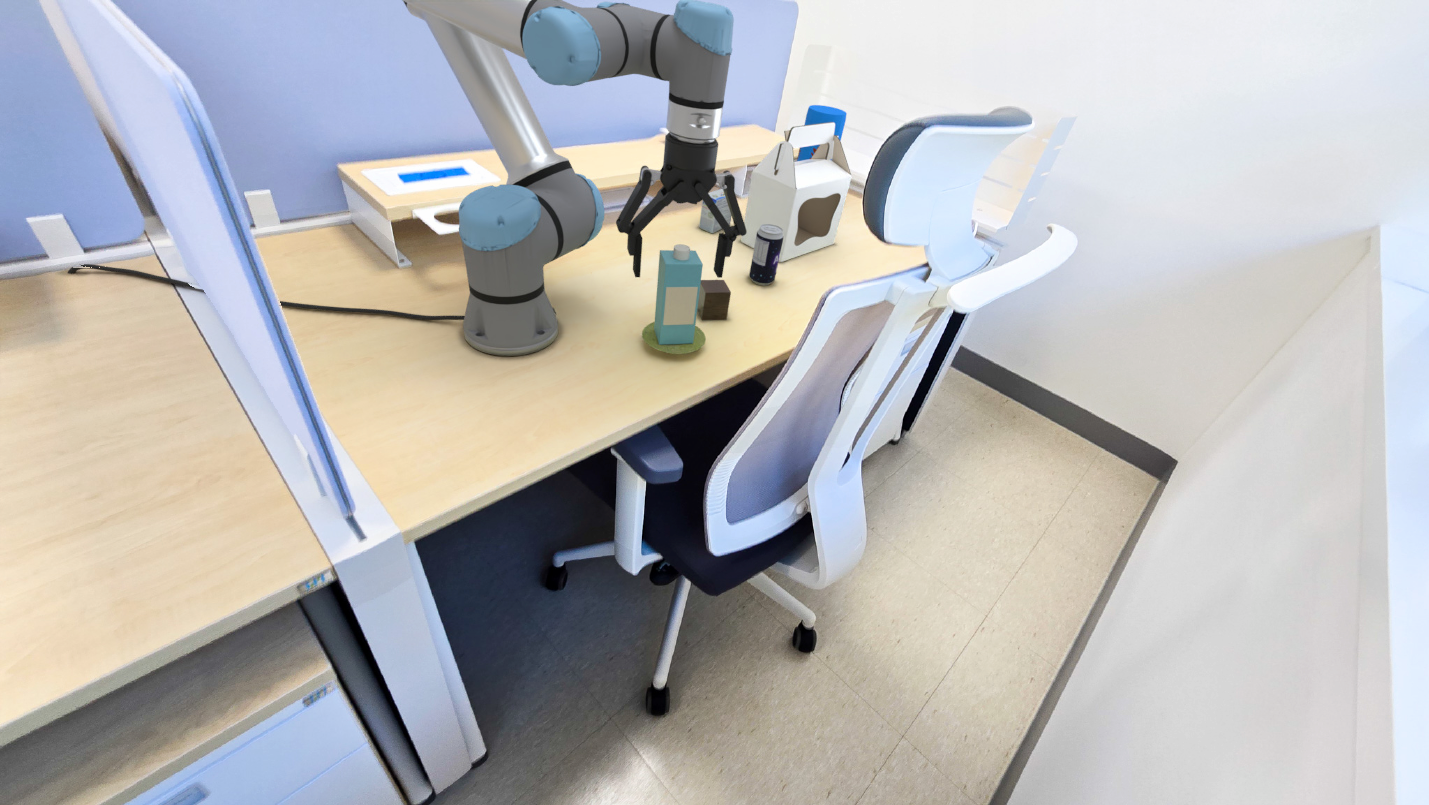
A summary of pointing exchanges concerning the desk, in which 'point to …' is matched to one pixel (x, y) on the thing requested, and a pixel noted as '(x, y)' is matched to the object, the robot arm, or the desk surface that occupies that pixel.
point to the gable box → (800, 191)
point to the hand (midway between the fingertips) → (677, 273)
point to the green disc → (652, 340)
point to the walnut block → (713, 300)
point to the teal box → (677, 295)
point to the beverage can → (766, 254)
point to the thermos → (822, 115)
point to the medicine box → (707, 217)
